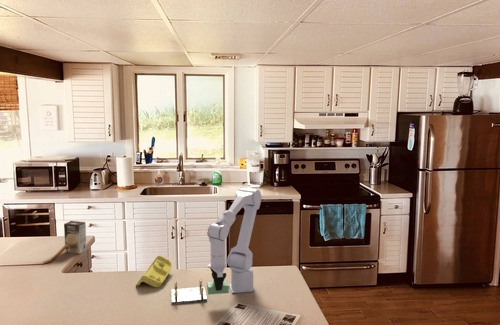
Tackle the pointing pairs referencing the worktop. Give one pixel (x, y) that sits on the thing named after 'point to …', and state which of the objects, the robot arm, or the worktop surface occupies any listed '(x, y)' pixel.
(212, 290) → the green rectangular block
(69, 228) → the coffee box
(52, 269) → the worktop surface
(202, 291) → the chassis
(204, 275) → the worktop surface
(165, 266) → the plastic component
